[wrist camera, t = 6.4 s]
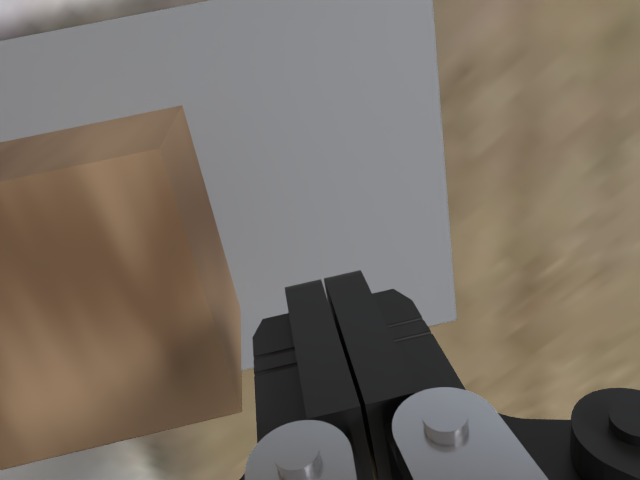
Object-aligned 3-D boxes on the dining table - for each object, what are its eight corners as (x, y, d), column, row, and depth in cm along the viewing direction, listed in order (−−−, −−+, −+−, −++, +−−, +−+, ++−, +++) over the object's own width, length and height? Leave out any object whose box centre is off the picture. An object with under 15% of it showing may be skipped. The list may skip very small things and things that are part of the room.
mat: (-404, 119, 13) (-422, 122, 13) (424, -42, 15) (429, -42, 14) (-146, 454, 19) (-154, 463, 18) (452, 313, 20) (456, 319, 19)
